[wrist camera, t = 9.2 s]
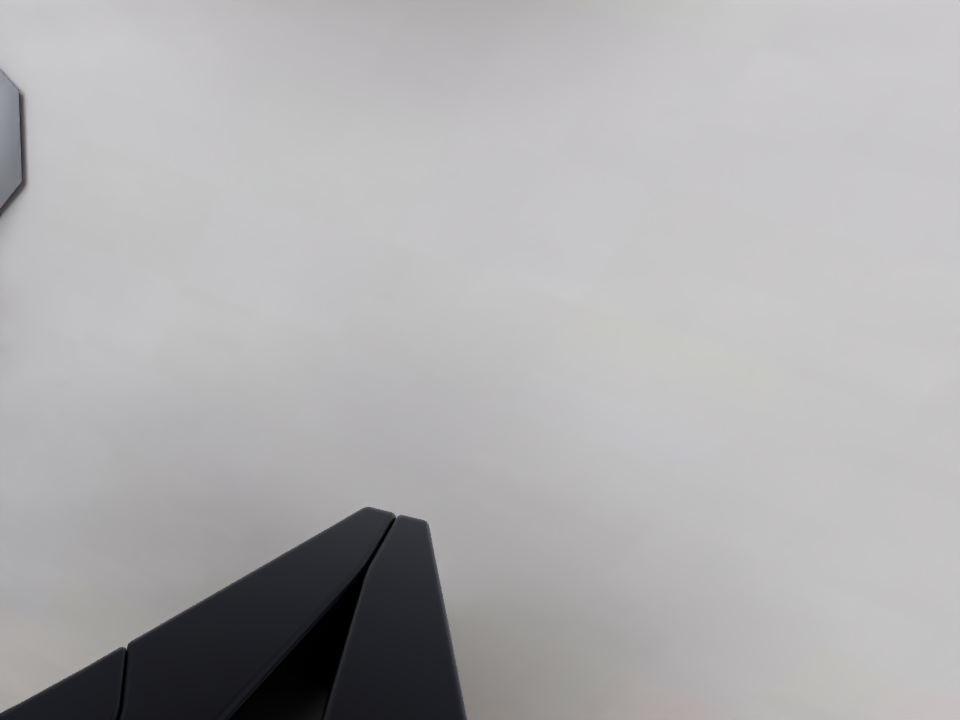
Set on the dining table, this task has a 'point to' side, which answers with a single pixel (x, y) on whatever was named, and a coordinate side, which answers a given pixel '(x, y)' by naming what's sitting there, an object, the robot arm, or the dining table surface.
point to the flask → (9, 139)
